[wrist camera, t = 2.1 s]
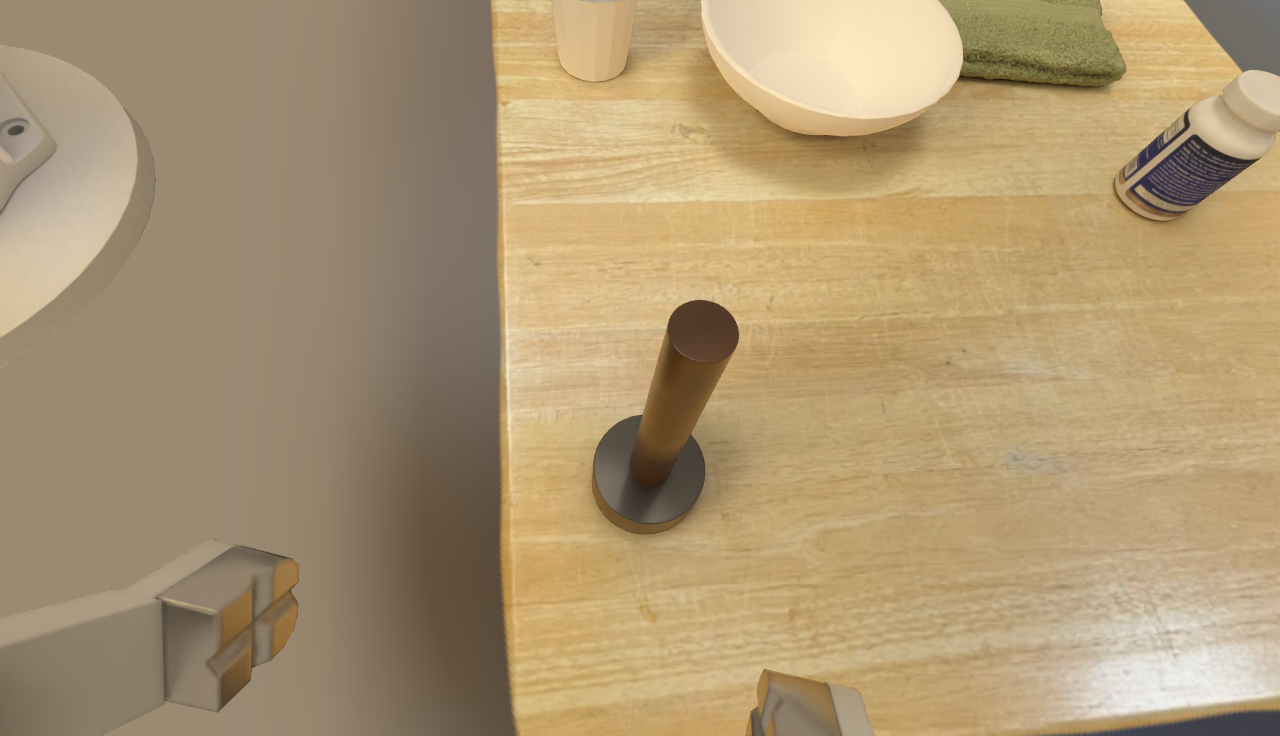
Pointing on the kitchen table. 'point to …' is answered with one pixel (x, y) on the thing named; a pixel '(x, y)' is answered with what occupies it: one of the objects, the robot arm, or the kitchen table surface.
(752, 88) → the bowl
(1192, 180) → the pill bottle
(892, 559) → the kitchen table surface
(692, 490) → the paper towel holder
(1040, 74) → the washcloth
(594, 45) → the shot glass
